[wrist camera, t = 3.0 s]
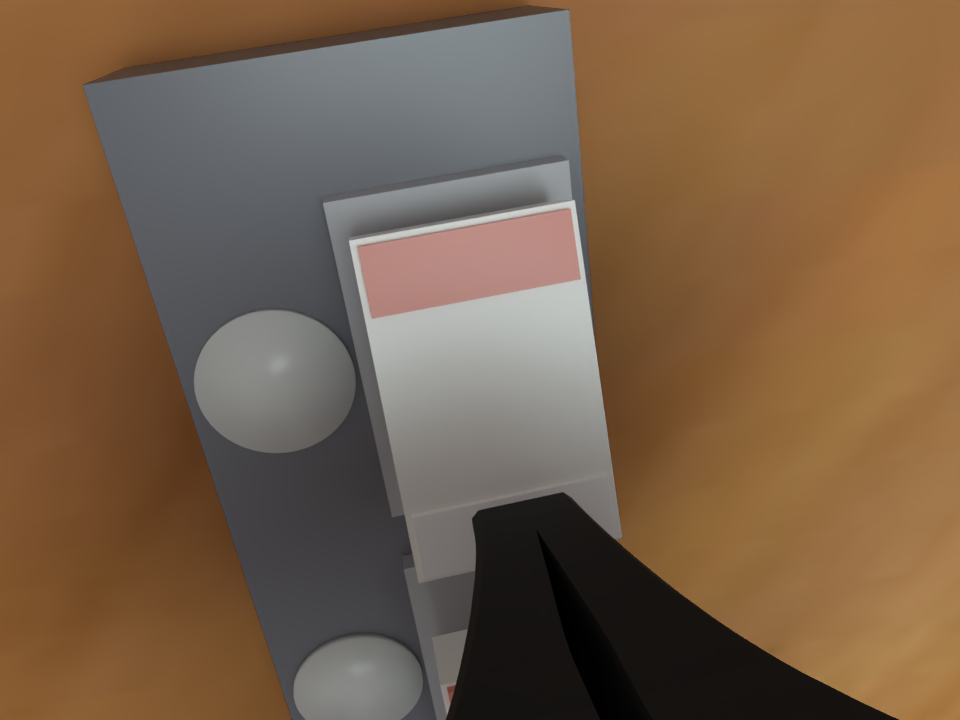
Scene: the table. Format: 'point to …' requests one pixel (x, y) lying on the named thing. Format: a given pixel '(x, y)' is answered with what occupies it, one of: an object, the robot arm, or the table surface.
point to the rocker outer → (485, 372)
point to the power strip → (327, 301)
